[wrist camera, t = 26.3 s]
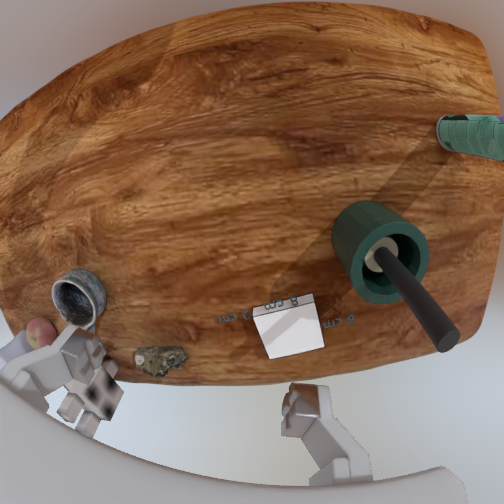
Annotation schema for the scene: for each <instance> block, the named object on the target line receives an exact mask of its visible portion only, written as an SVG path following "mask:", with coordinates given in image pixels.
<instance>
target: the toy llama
mask: <svg viewBox="0 0 504 504" xmlns="http://www.w3.org/2000/svg"><path fill="white" fill-rule="evenodd" d="M99 345H100V346H101V347H102V348H103V352H104V355H105V354H106V352H107V351H108V350H107V349H106V348H105V346H104V345H103V343H102V342H100V343H99ZM118 369H119V366H118V364H117V363H116V362H115V360H114V359H106V360H105V362H104V363H103V365H100V367H99V368H98V369H95V370H94V374H95V375H94V377H93V378H92V380H91V382H90V383H89V385H86V384H84V383H82V382H79V381H77V380H75V379H73V380H72V381H70V382H68V383H67V384H65V385H63V386H64V387H65V388H66V389H67V390H68V391H69V392H68V394H67V396H66V397H65V399H64V400H63V402H62V404H61V405H60V407H59V409H58V410H57V413H58V414H59V415H60V416H61V417H62V418H63V419H64V420H65V421H67V422H71V423H74V422H75V420H76V418H77V416H78V414H79V413H80V411H81V409H82V408H83V409H84V410H85V411H84V413H83V414H82V416H81V418H80V420H79V422H78V424H77V426H76V428H75V430H76V431H78V432H80V433H82V434H84V435H86V436H88V437H90V438H93V436H94V434H95V432H96V430H97V427H98V425H99V423H100V421H101V420H107V421H110V420H111V418H112V416H113V414H114V412H115V410H116V408H117V406H118V403H119V401H120V399H121V397H122V395H123V393H124V392H123V390H122V389H121V388H120V387H119V386H118V385H117V383H116V382H115V381H114V379H113V378H114V376H115V375H116V373H117V371H118Z"/></svg>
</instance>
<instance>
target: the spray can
mask: <svg viewBox="0 0 504 504" xmlns="http://www.w3.org/2000/svg"><path fill="white" fill-rule="evenodd" d="M436 135H437V138H438V141H439V143H440V144H441V146H442V147H443V148H445V149H446V150H449V151H454V152H459V153H465V154H470V155H475V156H480V157H484V158H489V159H493V160H497V161H501V162H504V116H496V115H446V116H442V117H441V118H440V119H439V120H438V122H437V125H436Z"/></svg>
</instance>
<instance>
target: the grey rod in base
mask: <svg viewBox="0 0 504 504" xmlns="http://www.w3.org/2000/svg"><path fill="white" fill-rule="evenodd" d="M397 256H398V247H397V244H396V243H395V241H394V240H393V239H392V238H391V237H389V236H385V237H383V238H382V239H380V240H378V241H377V242H376V243H375V244H374V245H373V246H372V247H371V248H370V249H369V251H368V253H367V255H366V257H365V259H364V263H365V264H366V266H367V267H368V268H369V269H370V270H372V271H374V272H384V273H385V274H386V276H387V277H388V278H389V280H390V281H391V282H392V284H393V285H394V287H395V288H396V289H397V291H398V292H399V293H400V295H401V296H402V298H403V299H404V300H405V302H406V303H407V305H408V306H409V307H410V309H411V310H412V312H413V313H414V315H415V316H416V318H417V319H418V321H419V322H420V324H421V325H422V327H423V328H424V330H425V331H426V333H427V334H428V336H429V337H430V339H431V340H432V342H433V344H434V345H435V347H436V348H437V350H438V351H439V352H441V353H443V352H447V351H449V350H450V349H452V348H453V347H454V346H455V345H456V344H457V342H458V340H459V338H460V332H459V330H458V329H457V328H456V326H455V325H454V324H453V323H452V321H451V320H450V319H449V317H448V316H447V315H446V314H445V312H444V311H443V310H442V309H441V307H440V306H439V305H438V304H437V303H436V301H435V300H434V299H433V298H432V297H431V295H430V294H429V293H428V292H427V291H426V290H425V288H424V287H423V286H422V285H421V284H420V283H419V282H418V280H417V279H416V278H415V277H414V276H413V275H412V274H411V273H410V271H409V270H408V269H407V268H406V267H405V266H404V265H403V264H402V263H401V262H400V261H399V260H398V258H397Z"/></svg>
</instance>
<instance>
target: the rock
mask: <svg viewBox="0 0 504 504" xmlns="http://www.w3.org/2000/svg"><path fill="white" fill-rule="evenodd" d="M134 358H135V362H136V366H137V369H138V370H141V371H144V372H145V373H149V374H151V375H152V376H154V377H155V376H161V377H164V376H165V375H166V374H167V373H168V370H171V369H182V365H184V363H185V362H186V361H187V360H188V356H187V354H185V353H184V351H183V349H182V347H176V346H173V347H158V346H157V347H153V348H139V350H138V351H137V352H136V353H134Z"/></svg>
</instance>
